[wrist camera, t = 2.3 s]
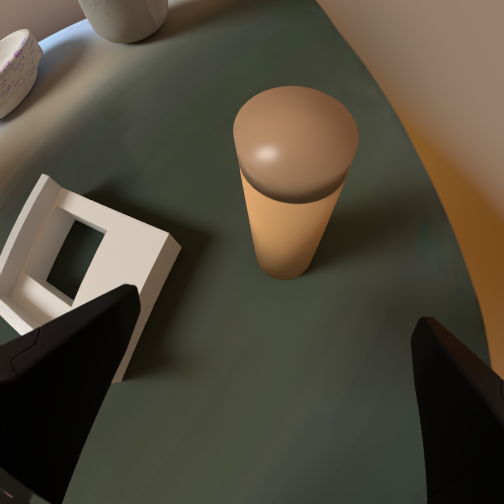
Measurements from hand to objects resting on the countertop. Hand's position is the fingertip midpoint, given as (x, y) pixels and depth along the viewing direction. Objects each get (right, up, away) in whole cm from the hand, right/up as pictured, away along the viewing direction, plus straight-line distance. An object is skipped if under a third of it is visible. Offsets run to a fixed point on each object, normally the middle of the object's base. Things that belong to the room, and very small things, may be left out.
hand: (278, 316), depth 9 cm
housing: (-14, 0, +13) cm, 19 cm away
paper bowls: (-36, +25, +23) cm, 50 cm away
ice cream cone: (+2, +2, +13) cm, 13 cm away
